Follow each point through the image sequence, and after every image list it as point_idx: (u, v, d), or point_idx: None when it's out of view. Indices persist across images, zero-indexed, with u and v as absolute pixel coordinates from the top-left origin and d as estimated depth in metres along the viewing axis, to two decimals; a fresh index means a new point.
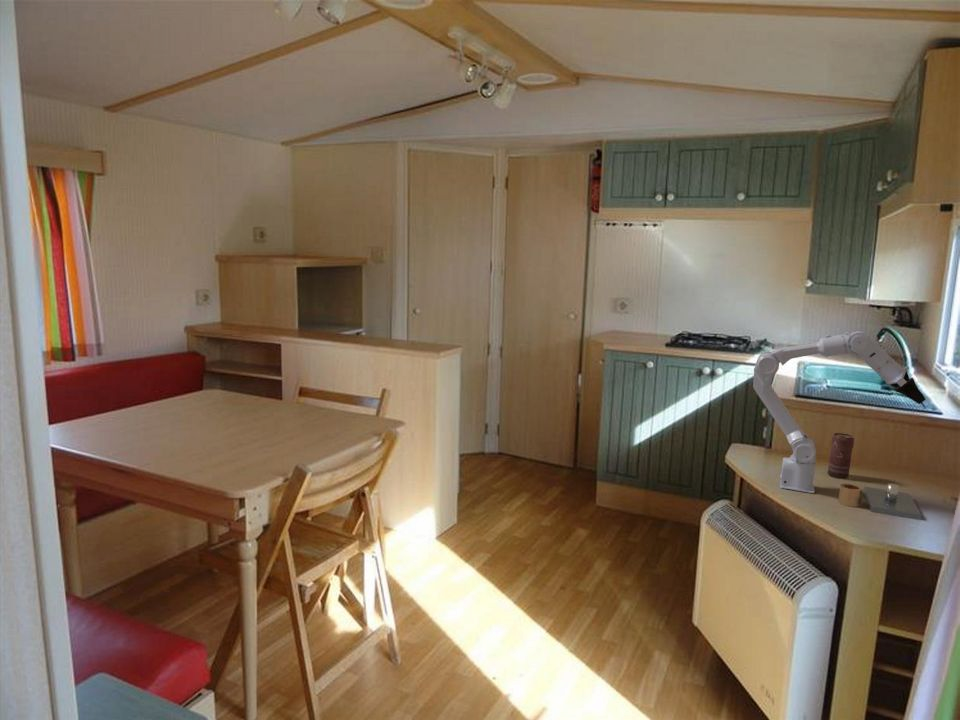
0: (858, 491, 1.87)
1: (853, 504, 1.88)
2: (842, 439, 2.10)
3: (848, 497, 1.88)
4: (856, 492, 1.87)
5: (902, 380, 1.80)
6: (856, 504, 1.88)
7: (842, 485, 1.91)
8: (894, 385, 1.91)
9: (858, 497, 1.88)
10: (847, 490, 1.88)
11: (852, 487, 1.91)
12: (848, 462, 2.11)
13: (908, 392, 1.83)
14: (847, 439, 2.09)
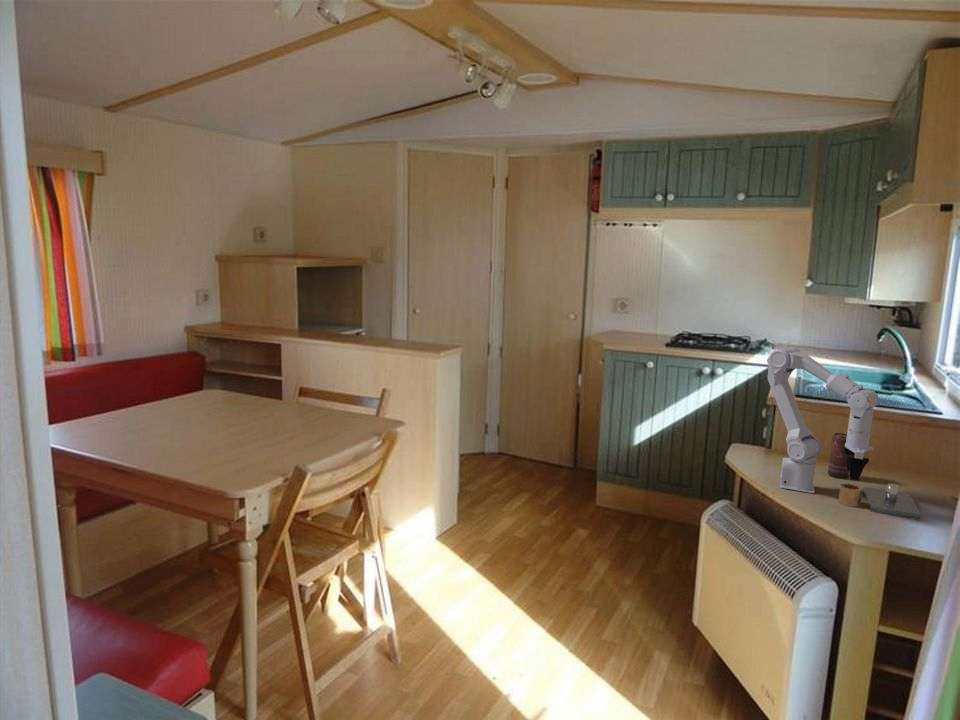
0: (858, 491, 1.87)
1: (853, 504, 1.88)
2: (842, 439, 2.10)
3: (848, 497, 1.88)
4: (856, 492, 1.87)
5: (861, 455, 1.81)
6: (856, 504, 1.88)
7: (842, 485, 1.91)
8: (846, 450, 1.92)
9: (858, 497, 1.88)
10: (847, 490, 1.88)
11: (852, 487, 1.91)
12: None
13: (853, 465, 1.85)
14: None
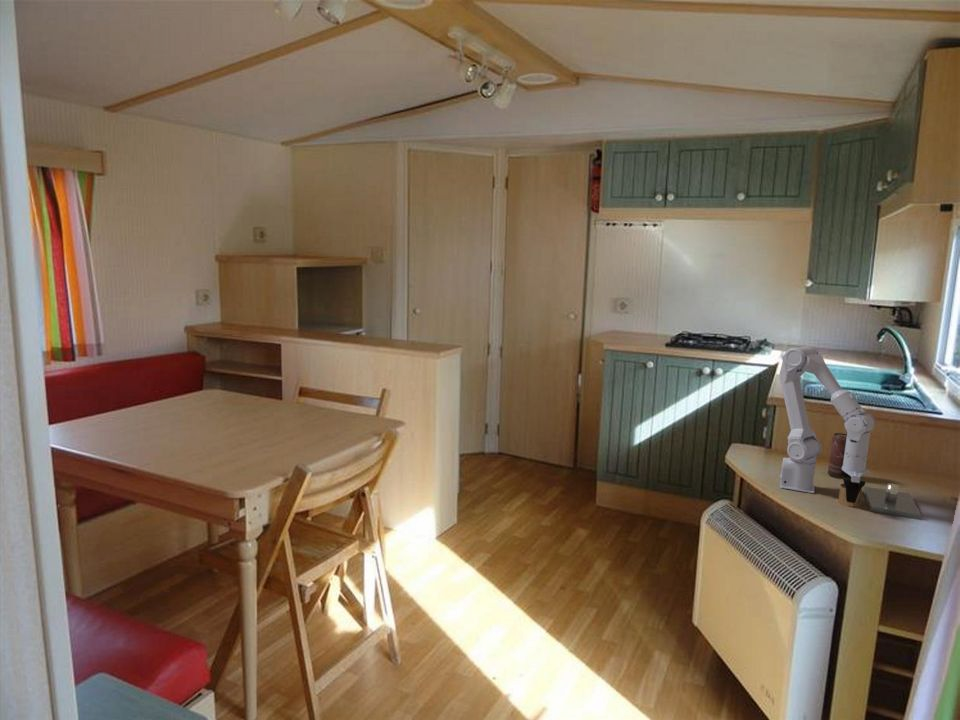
0: None
1: (853, 504, 1.88)
2: (842, 439, 2.10)
3: None
4: None
5: (857, 479, 1.82)
6: (856, 504, 1.88)
7: (842, 485, 1.91)
8: (843, 474, 1.93)
9: (858, 497, 1.88)
10: None
11: None
12: None
13: (849, 488, 1.87)
14: None
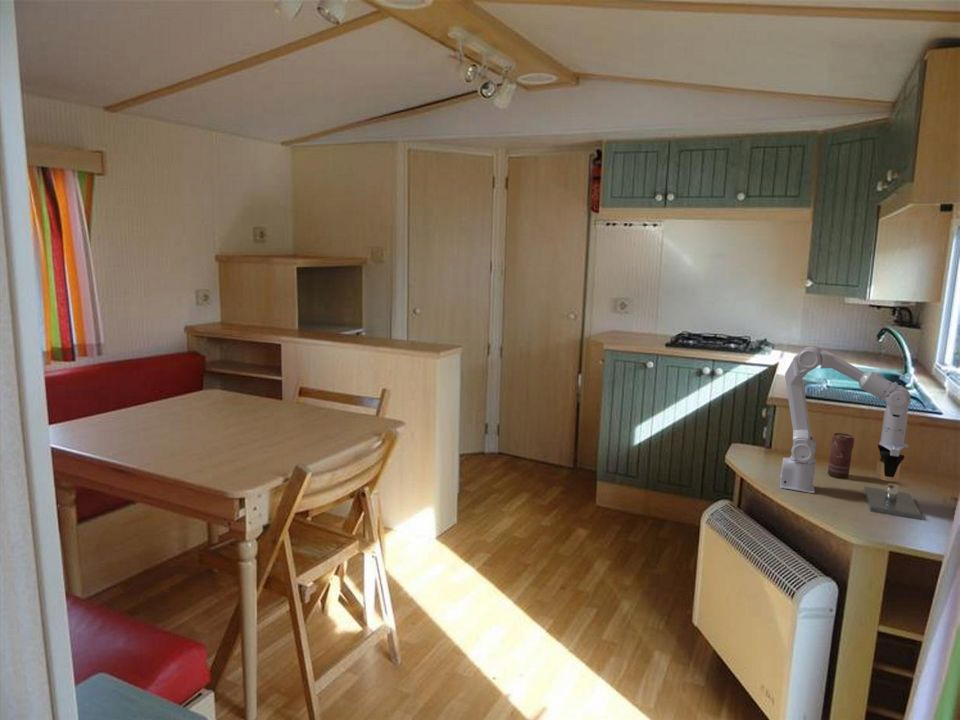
0: None
1: (892, 478, 1.86)
2: (842, 439, 2.10)
3: None
4: None
5: (897, 452, 1.81)
6: (895, 478, 1.86)
7: (880, 460, 1.89)
8: (881, 449, 1.91)
9: (897, 471, 1.86)
10: None
11: None
12: (848, 462, 2.11)
13: (888, 462, 1.85)
14: (847, 439, 2.09)
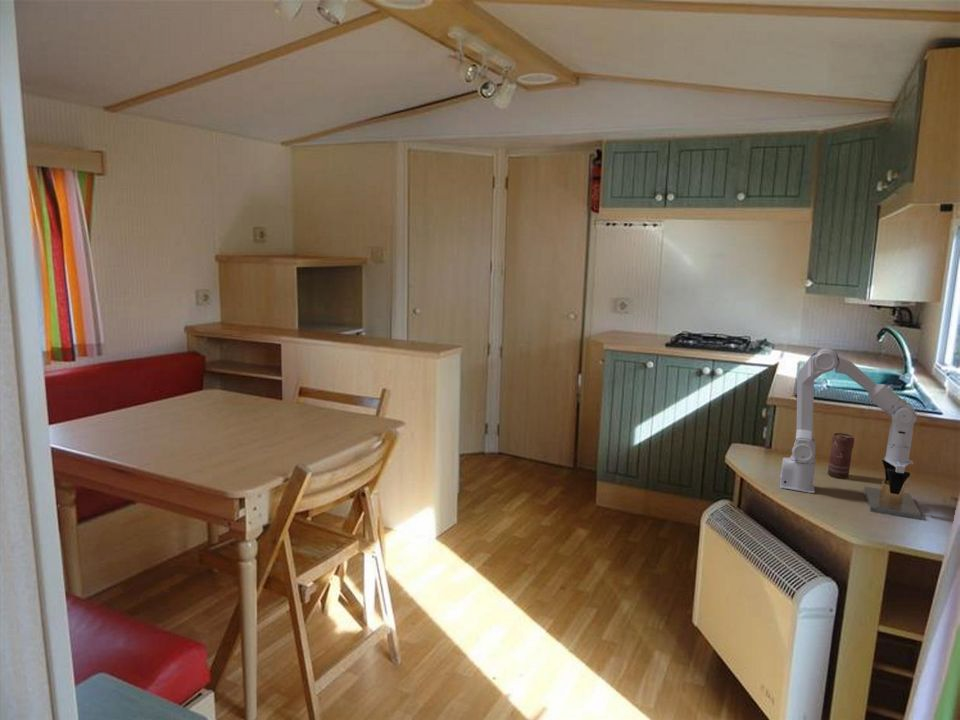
0: None
1: (896, 500, 1.87)
2: (842, 439, 2.10)
3: (890, 494, 1.88)
4: None
5: (902, 469, 1.82)
6: (898, 501, 1.88)
7: (884, 482, 1.90)
8: (885, 464, 1.93)
9: (900, 494, 1.87)
10: (889, 487, 1.88)
11: None
12: (848, 462, 2.11)
13: (893, 479, 1.85)
14: (847, 439, 2.09)
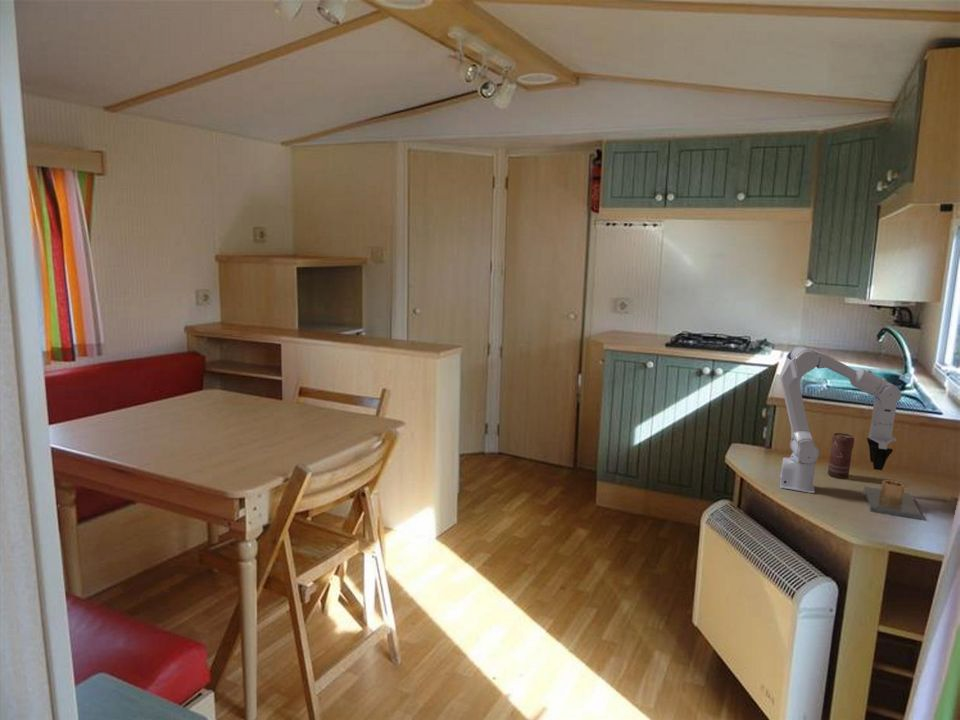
0: (901, 488, 1.87)
1: (896, 500, 1.87)
2: (842, 439, 2.10)
3: (890, 494, 1.88)
4: (899, 489, 1.87)
5: (885, 445, 1.88)
6: (898, 501, 1.88)
7: (884, 482, 1.90)
8: (869, 441, 1.99)
9: (900, 494, 1.87)
10: (889, 487, 1.88)
11: None
12: (848, 462, 2.11)
13: (877, 455, 1.92)
14: (847, 439, 2.09)
